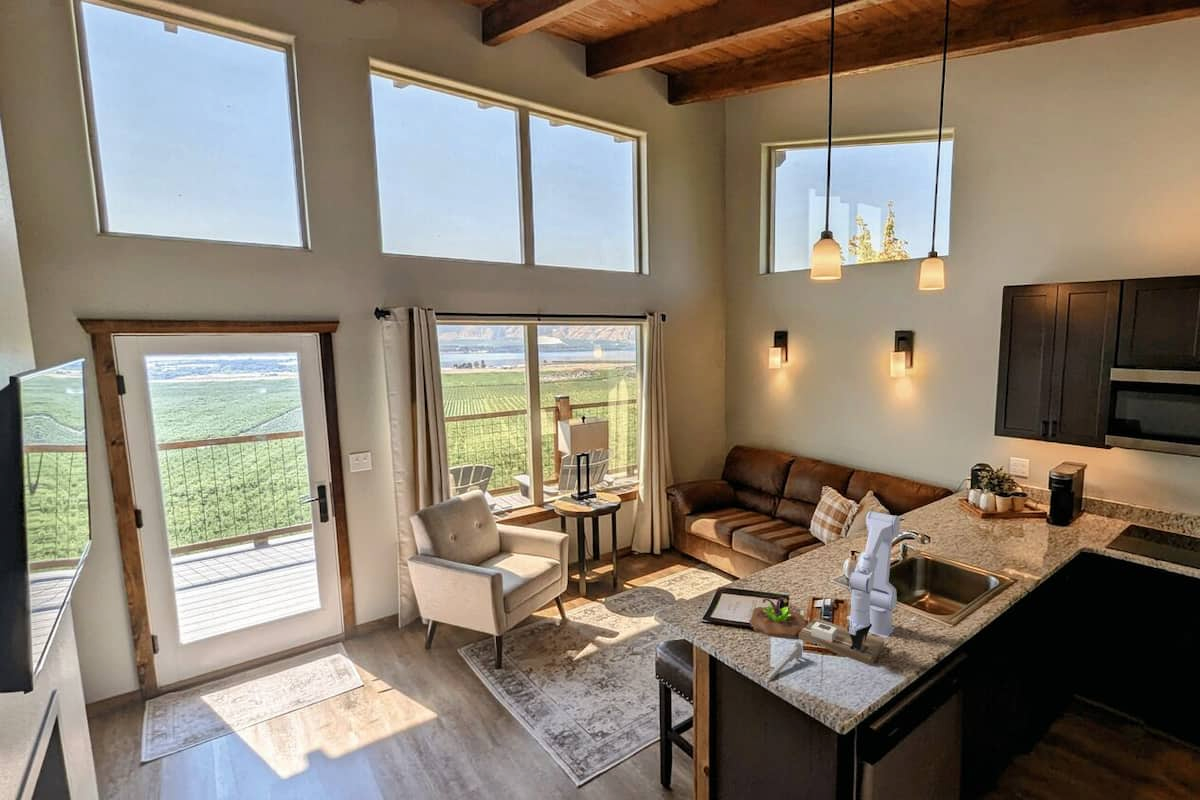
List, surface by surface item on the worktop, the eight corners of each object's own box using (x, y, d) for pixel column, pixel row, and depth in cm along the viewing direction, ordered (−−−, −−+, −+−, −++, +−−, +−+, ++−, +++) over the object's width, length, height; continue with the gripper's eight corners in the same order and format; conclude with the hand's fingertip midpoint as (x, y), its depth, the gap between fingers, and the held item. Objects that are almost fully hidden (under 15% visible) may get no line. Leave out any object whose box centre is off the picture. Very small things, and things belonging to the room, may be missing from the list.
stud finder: (816, 629, 201) (816, 620, 201) (836, 636, 197) (836, 626, 196) (811, 635, 198) (811, 626, 197) (831, 642, 193) (832, 632, 193)
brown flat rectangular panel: (814, 623, 210) (814, 617, 210) (884, 647, 194) (884, 640, 193) (798, 639, 200) (798, 632, 199) (870, 665, 183) (870, 658, 183)
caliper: (799, 657, 189) (799, 639, 188) (802, 658, 188) (802, 640, 187) (764, 682, 175) (764, 663, 175) (767, 684, 175) (767, 664, 174)
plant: (803, 645, 197) (803, 615, 196) (746, 633, 205) (746, 604, 204) (808, 618, 215) (808, 590, 213) (755, 608, 223) (755, 581, 222)
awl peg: (855, 647, 192) (856, 630, 191) (865, 650, 190) (866, 633, 189) (852, 651, 189) (853, 634, 189) (862, 654, 187) (863, 637, 186)
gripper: (855, 596, 196) (854, 633, 197) (839, 612, 185) (838, 651, 187) (877, 602, 191) (875, 640, 193) (862, 619, 180) (861, 659, 182)
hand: (858, 646), depth 189 cm, fingers closed on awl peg, 3 cm apart
